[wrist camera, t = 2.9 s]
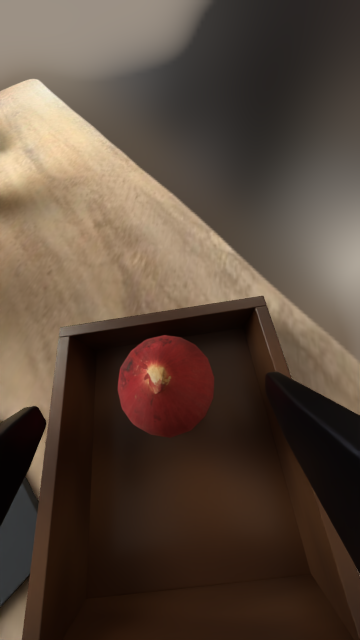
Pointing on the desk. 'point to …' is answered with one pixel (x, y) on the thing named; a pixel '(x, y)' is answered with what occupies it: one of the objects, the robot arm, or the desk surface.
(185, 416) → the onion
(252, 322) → the wooden box
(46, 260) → the desk surface
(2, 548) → the mat
